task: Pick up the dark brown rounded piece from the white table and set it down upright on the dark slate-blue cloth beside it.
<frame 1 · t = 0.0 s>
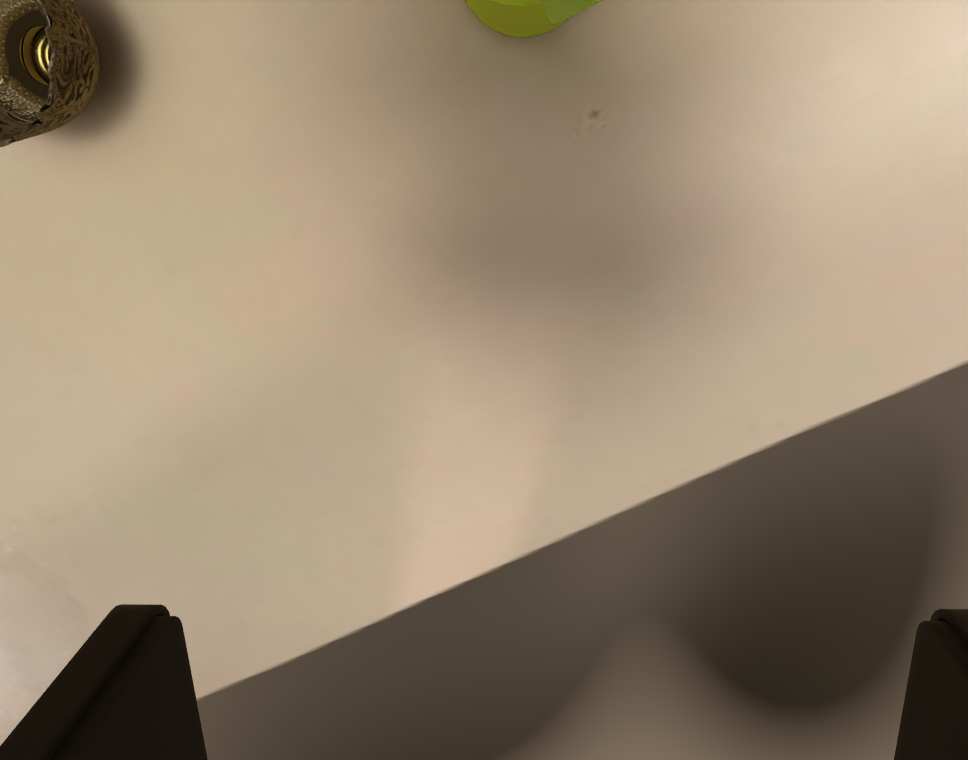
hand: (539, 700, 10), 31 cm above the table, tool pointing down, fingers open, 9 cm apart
dark brown rounded piece: (70, 58, 38), on the table
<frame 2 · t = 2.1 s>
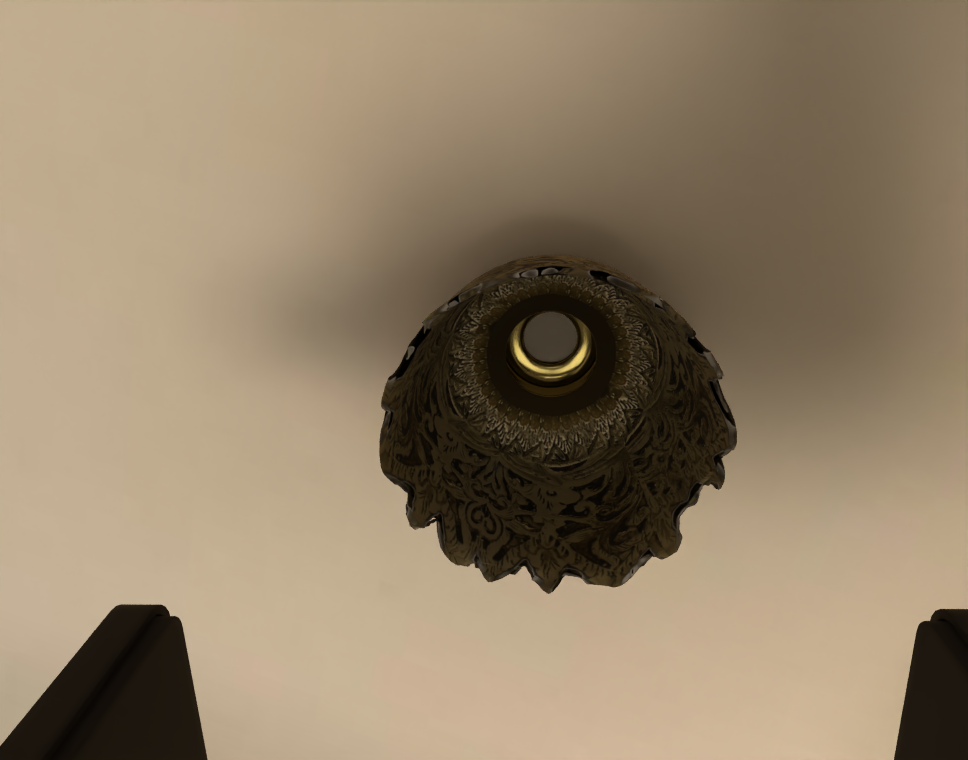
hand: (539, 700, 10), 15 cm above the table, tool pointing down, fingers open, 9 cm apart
dark brown rounded piece: (550, 335, 24), on the table
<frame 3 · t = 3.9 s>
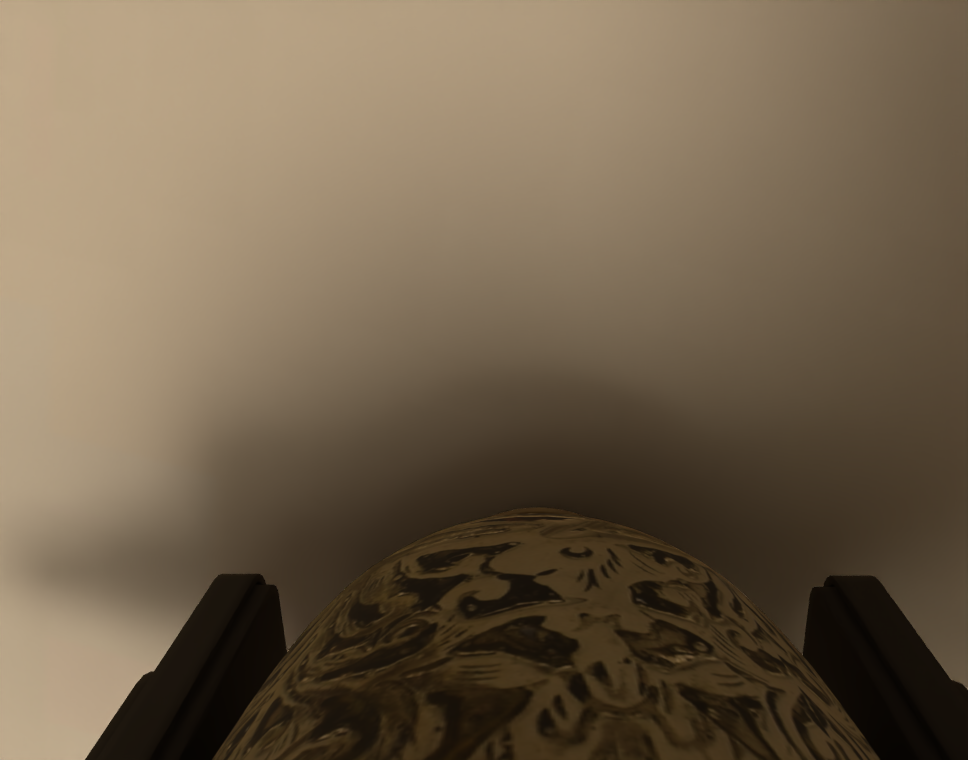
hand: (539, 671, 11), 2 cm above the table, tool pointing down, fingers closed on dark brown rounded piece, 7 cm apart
dark brown rounded piece: (538, 586, 13), on the table, touching gripper
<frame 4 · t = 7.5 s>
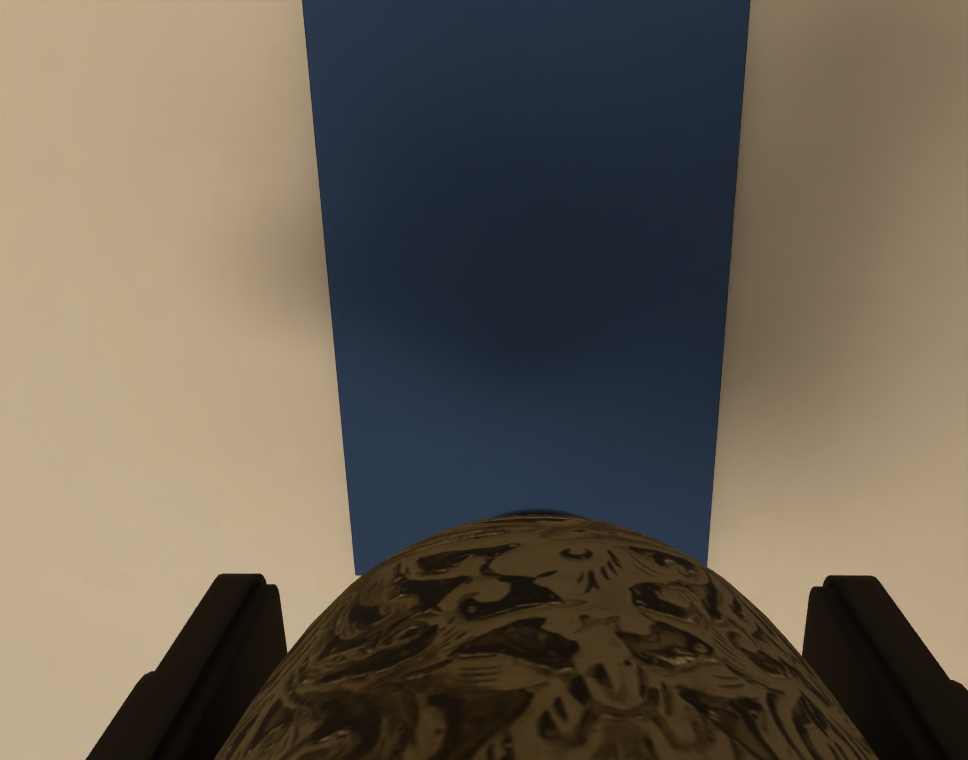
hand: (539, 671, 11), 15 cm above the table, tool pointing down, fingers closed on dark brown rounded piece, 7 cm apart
cloth: (525, 255, 24), on the table
dark brown rounded piece: (538, 586, 13), point 13 cm above the table, touching gripper
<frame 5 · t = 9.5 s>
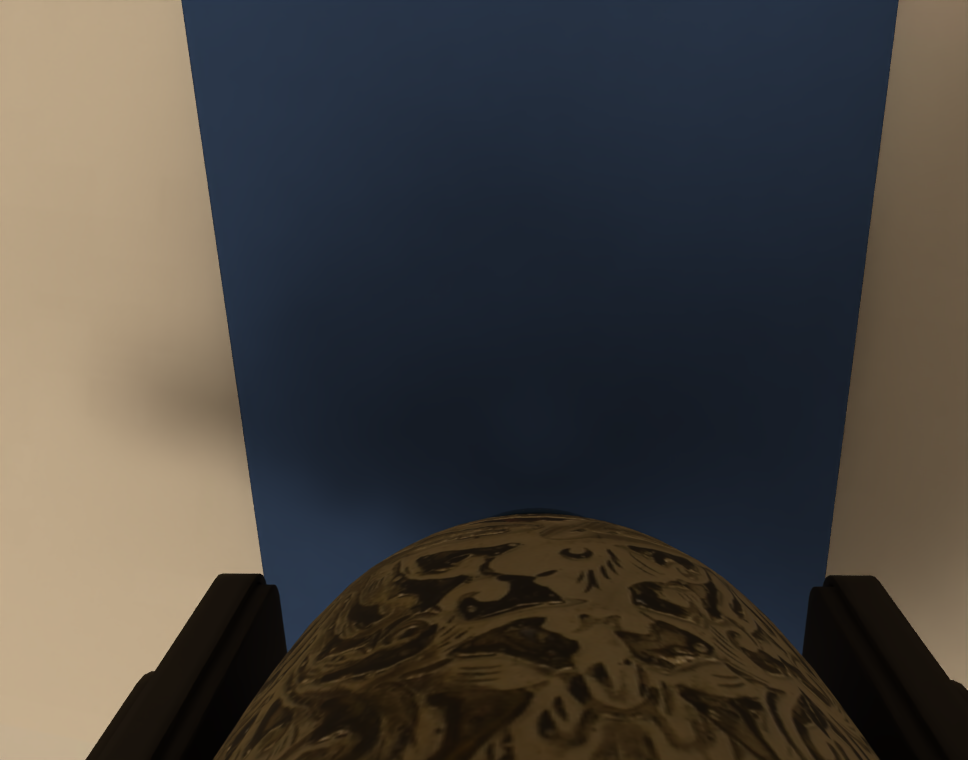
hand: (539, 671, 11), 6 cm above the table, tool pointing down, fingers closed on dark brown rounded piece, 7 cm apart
cloth: (536, 467, 17), on the table
dark brown rounded piece: (538, 586, 13), point 4 cm above the table, touching gripper
when the fingers open (2 cm above the table, at t = 11.0 s): dark brown rounded piece stays where it is, resting on cloth.
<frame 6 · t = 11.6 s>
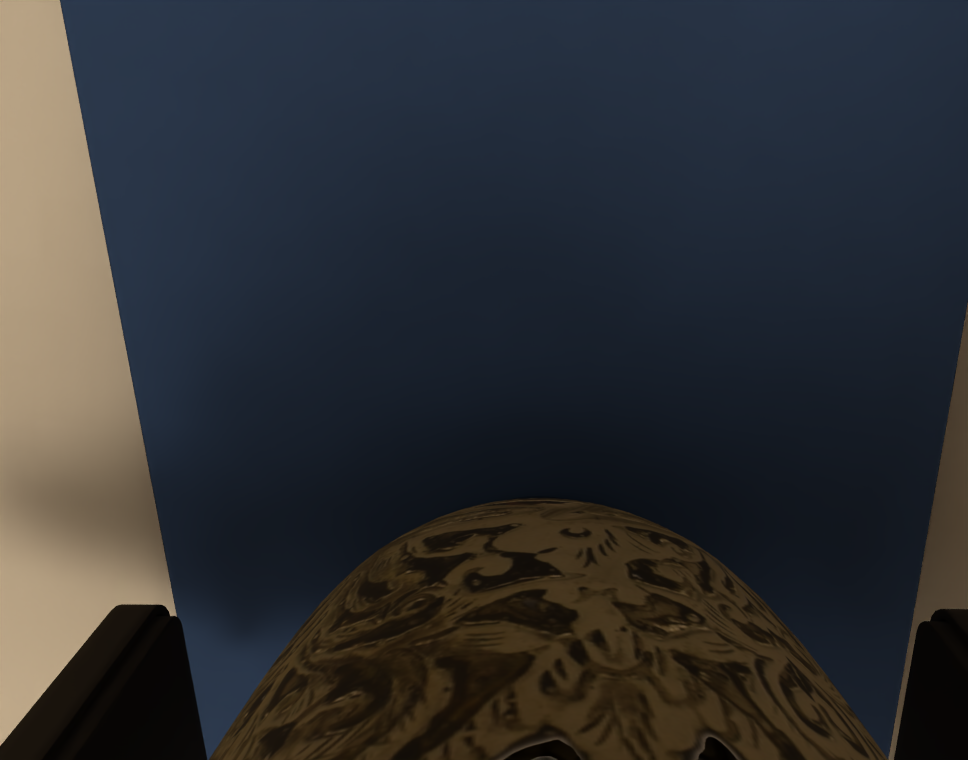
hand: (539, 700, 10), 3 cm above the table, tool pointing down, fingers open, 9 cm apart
cloth: (533, 564, 13), on the table
dark brown rounded piece: (538, 573, 13), resting on cloth
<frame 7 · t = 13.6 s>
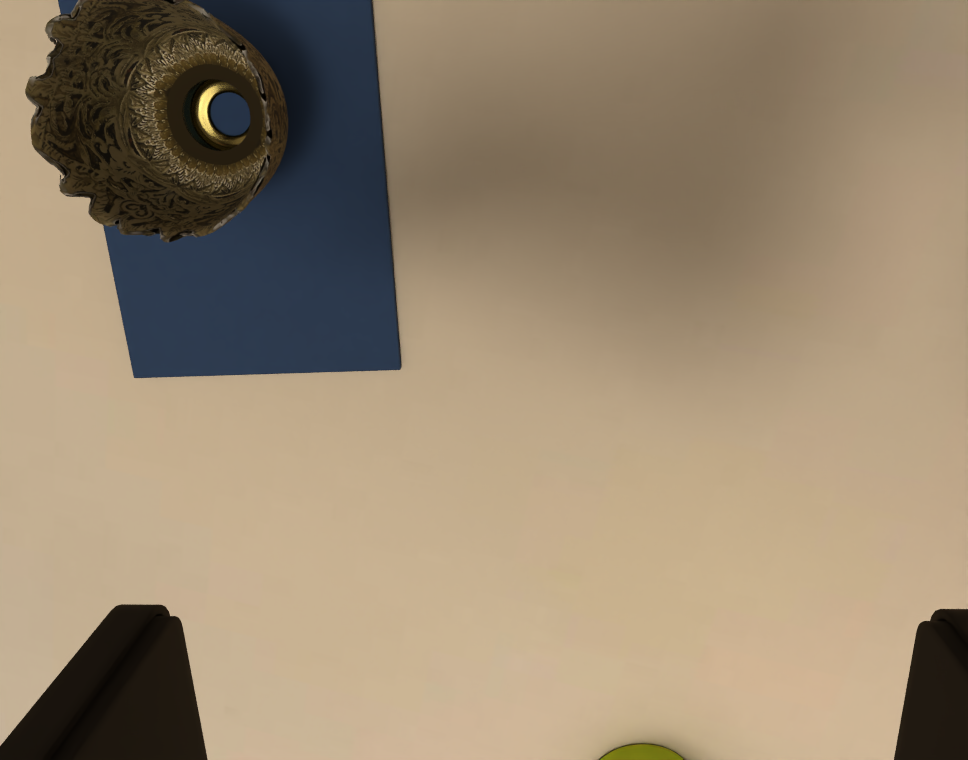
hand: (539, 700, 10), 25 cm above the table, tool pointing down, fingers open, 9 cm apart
cloth: (232, 113, 32), on the table
dark brown rounded piece: (232, 114, 32), resting on cloth
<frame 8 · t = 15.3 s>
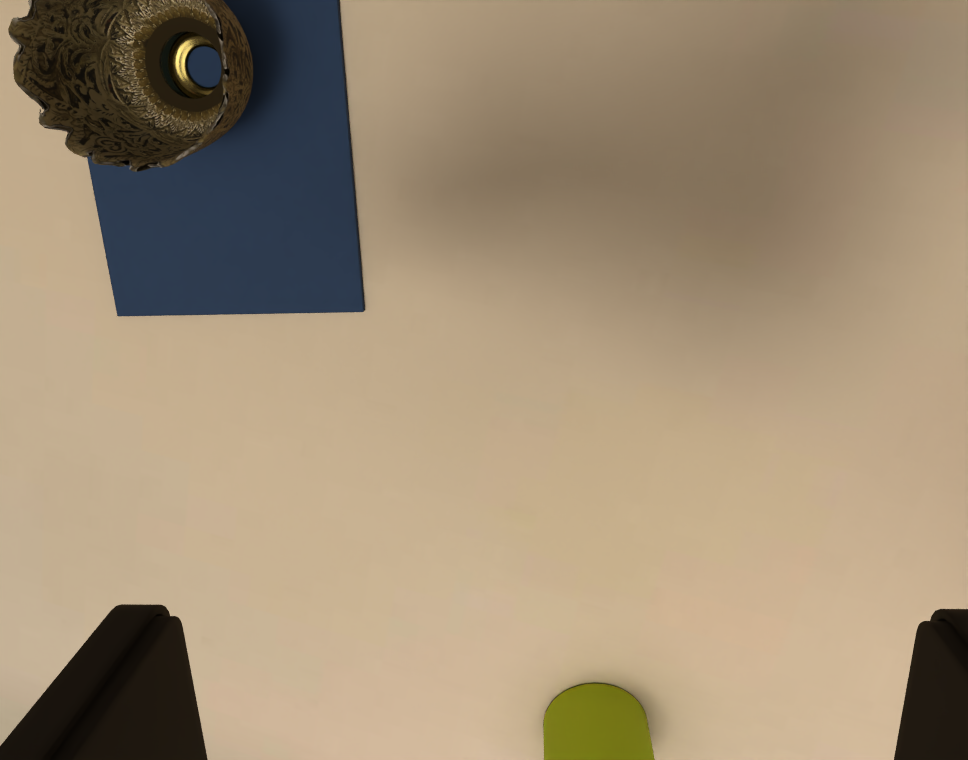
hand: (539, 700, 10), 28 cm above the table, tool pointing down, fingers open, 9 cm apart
cloth: (208, 67, 35), on the table
soap dispenser: (590, 728, 46), on the table
dark brown rounded piece: (208, 67, 35), resting on cloth
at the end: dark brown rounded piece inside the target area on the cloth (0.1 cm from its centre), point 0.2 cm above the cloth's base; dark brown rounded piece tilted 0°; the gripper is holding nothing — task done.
